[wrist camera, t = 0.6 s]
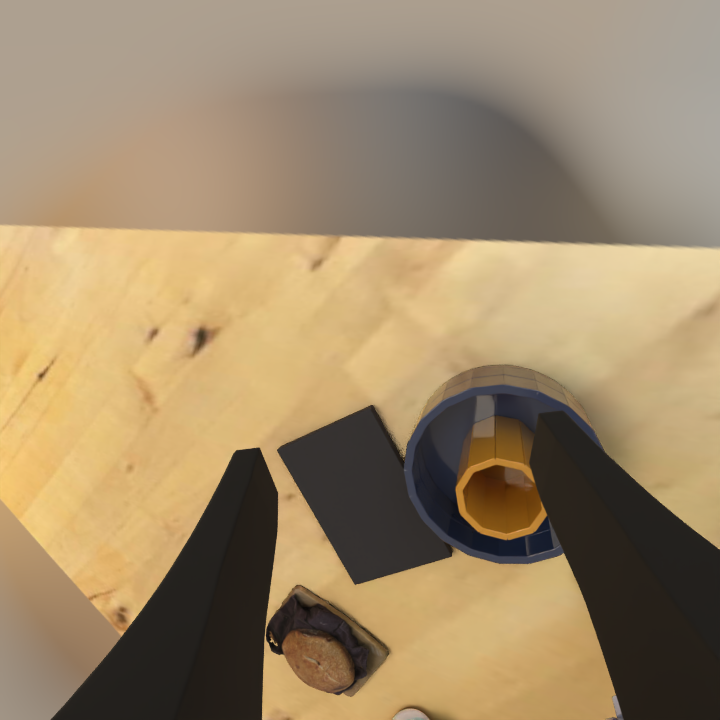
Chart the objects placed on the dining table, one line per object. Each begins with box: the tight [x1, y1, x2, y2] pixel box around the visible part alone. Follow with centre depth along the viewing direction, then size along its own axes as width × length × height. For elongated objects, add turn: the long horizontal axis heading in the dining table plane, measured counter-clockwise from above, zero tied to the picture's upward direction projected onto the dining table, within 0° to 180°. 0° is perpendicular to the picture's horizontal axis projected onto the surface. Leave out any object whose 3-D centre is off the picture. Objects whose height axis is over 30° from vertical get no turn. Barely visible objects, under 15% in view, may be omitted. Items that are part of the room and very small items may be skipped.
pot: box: [404, 365, 605, 564], centre depth 33 cm, size 13×13×5 cm
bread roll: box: [266, 585, 389, 697], centre depth 43 cm, size 11×8×4 cm
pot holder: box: [277, 405, 453, 585], centre depth 39 cm, size 14×10×1 cm
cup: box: [455, 415, 547, 540], centre depth 31 cm, size 5×6×7 cm
